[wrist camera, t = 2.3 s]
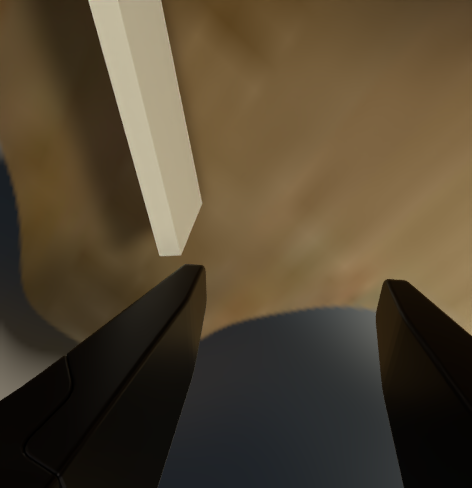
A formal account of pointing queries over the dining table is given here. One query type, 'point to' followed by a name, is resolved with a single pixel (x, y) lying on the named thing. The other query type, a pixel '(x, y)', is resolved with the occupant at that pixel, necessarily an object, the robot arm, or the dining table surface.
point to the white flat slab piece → (151, 114)
